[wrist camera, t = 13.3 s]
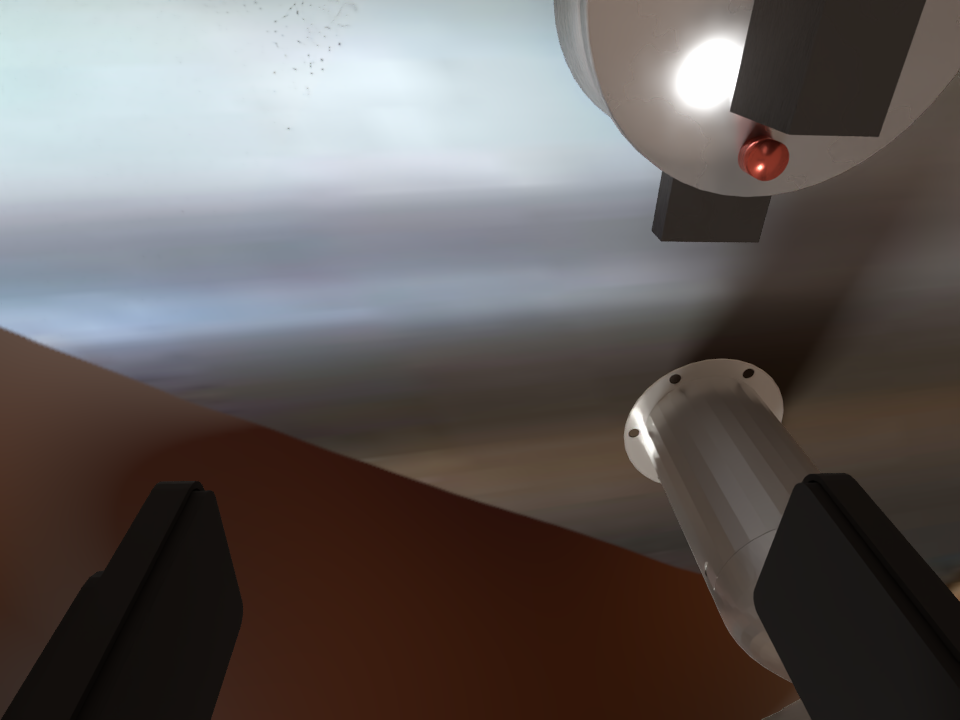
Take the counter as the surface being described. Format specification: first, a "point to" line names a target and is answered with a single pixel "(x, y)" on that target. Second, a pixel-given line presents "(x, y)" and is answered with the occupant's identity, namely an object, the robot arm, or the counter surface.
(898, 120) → the lid
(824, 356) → the counter surface
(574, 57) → the pot
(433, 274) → the counter surface
